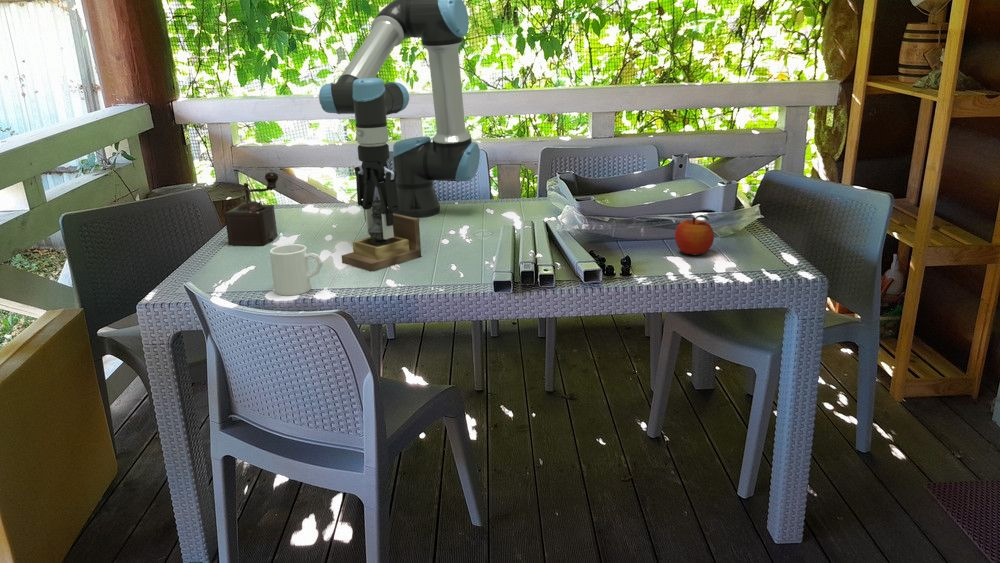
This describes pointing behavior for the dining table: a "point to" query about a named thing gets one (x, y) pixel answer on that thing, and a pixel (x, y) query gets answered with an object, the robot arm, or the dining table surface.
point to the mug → (292, 269)
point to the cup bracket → (388, 247)
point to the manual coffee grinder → (252, 219)
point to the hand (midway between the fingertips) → (380, 235)
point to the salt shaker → (377, 225)
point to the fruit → (694, 236)
